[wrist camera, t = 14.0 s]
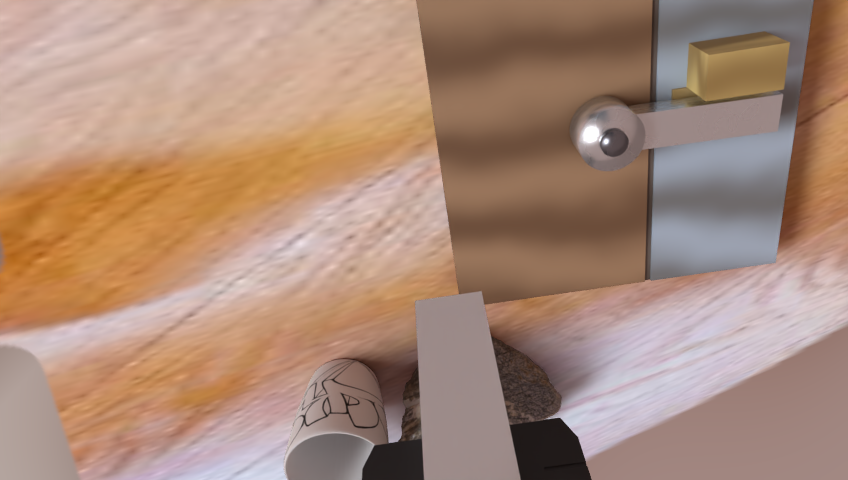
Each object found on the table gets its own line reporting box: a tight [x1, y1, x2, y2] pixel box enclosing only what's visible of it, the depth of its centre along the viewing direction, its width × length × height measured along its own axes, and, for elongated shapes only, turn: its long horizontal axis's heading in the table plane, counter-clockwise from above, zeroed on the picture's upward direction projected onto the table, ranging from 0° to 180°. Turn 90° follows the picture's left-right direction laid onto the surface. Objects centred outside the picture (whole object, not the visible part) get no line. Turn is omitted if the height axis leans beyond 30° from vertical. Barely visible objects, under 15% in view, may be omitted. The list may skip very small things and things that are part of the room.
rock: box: [398, 336, 561, 442], centre depth 56 cm, size 12×8×15 cm, turn 49°
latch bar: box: [570, 91, 783, 171], centre depth 44 cm, size 14×4×3 cm, turn 97°
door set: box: [416, 0, 814, 305], centre depth 46 cm, size 28×26×6 cm
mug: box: [284, 359, 388, 480], centre depth 57 cm, size 11×8×10 cm
